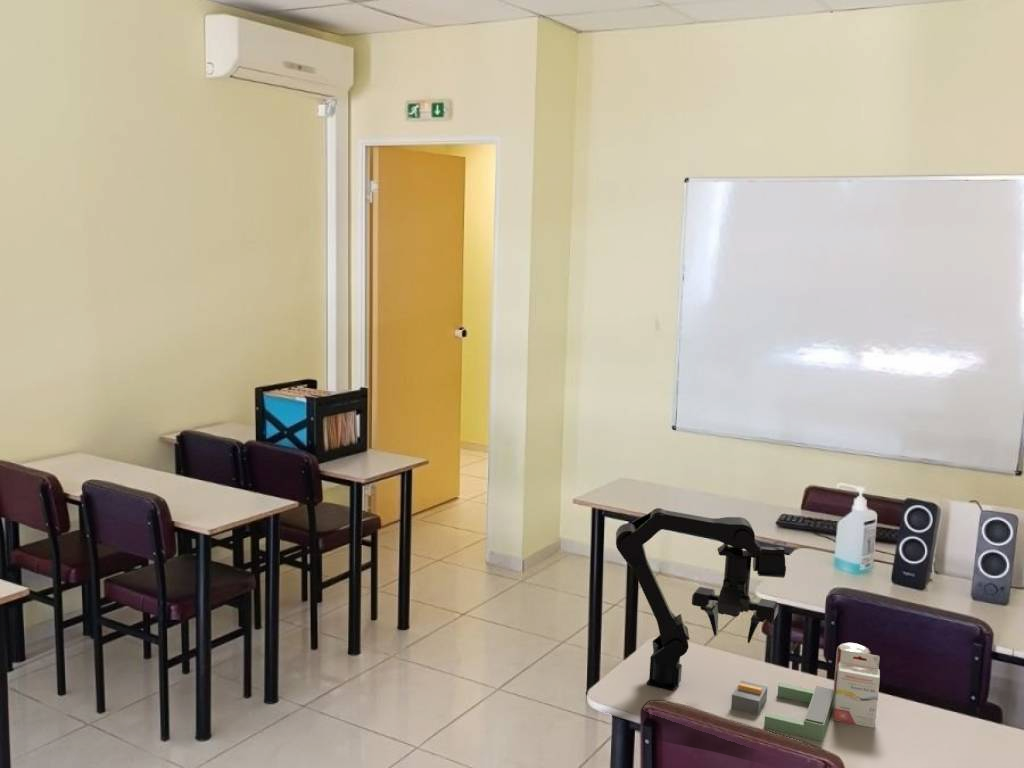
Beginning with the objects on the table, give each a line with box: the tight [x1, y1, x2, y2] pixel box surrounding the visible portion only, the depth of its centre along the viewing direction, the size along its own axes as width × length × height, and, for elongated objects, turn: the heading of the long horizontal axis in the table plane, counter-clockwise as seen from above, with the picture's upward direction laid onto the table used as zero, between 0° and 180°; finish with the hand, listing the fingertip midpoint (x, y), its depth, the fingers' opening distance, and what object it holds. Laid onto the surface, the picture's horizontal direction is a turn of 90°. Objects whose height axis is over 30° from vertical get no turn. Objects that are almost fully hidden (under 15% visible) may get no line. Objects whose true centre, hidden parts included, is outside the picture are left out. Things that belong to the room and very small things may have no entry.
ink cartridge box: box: [833, 650, 881, 729], centre depth 210 cm, size 9×5×15 cm, turn 71°
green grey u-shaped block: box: [763, 682, 835, 742], centre depth 212 cm, size 12×18×4 cm, turn 155°
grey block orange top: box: [730, 680, 769, 716], centre depth 216 cm, size 6×8×4 cm
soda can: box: [833, 642, 872, 697], centre depth 220 cm, size 7×7×12 cm
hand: (732, 638), depth 222 cm, fingers open, 7 cm apart
